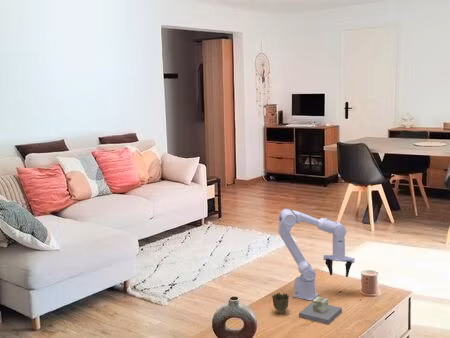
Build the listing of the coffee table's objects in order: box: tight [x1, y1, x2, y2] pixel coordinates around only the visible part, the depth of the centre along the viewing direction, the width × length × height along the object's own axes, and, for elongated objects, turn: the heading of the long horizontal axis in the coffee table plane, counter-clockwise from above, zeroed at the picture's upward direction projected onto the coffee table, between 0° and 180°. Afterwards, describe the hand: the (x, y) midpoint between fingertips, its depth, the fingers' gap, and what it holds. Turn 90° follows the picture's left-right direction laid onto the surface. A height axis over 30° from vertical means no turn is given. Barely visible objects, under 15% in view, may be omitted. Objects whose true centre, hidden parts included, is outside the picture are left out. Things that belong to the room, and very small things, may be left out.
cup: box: [271, 292, 290, 315], centre depth 233 cm, size 8×7×8 cm
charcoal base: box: [298, 301, 343, 325], centre depth 230 cm, size 14×14×2 cm
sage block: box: [312, 295, 329, 313], centre depth 229 cm, size 5×5×5 cm
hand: (339, 275), depth 250 cm, fingers open, 7 cm apart
